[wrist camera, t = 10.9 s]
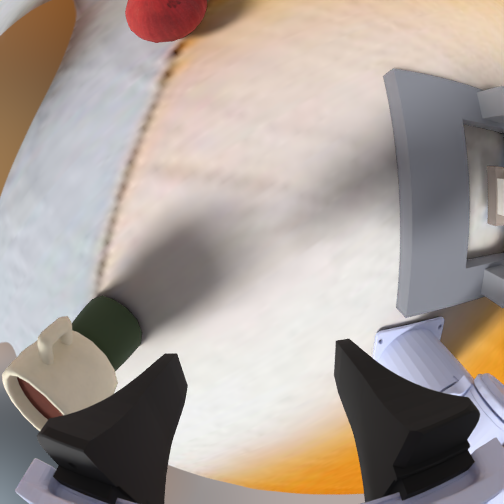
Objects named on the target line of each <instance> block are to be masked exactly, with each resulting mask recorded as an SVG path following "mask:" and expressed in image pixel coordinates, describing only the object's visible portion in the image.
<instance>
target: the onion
mask: <svg viewBox="0 0 504 504" xmlns="http://www.w3.org/2000/svg"><path fill="white" fill-rule="evenodd" d="M206 8H207V0H128V3H127V7H126V11H125V13H126V19H127V22H128V25H129V27H130V29H131V31H133V32H134V33H135V34H136V35H137V36H139V37H140V38H142V39H144V40H147V41H151V42H155V43H159V42H169V41H175V40H177V39H180V38H183V37H185V36H186V35H188V34H189V33H191V32H192V31H194V30H195V28H196V27H197V26H198V25H199V24H200V22H201V21H202V19H203V18H204V15H205V12H206Z"/></svg>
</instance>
